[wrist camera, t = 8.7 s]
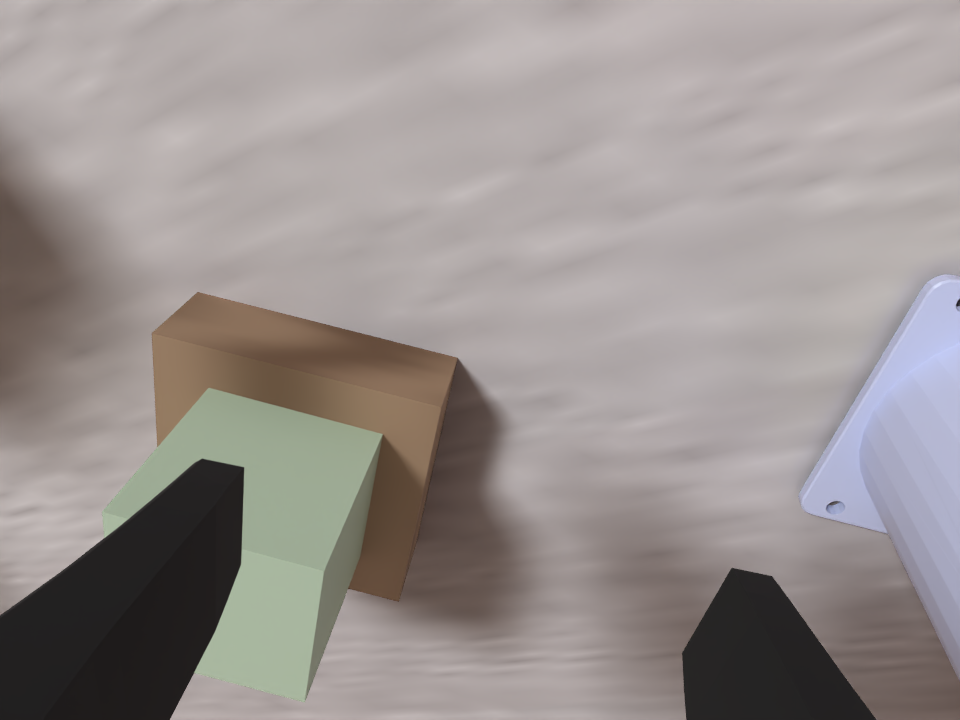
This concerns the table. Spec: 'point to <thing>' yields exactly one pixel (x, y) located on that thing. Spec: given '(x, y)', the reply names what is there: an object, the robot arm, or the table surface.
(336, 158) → the table surface
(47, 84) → the table surface
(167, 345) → the walnut block
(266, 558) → the sage cube
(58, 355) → the table surface
